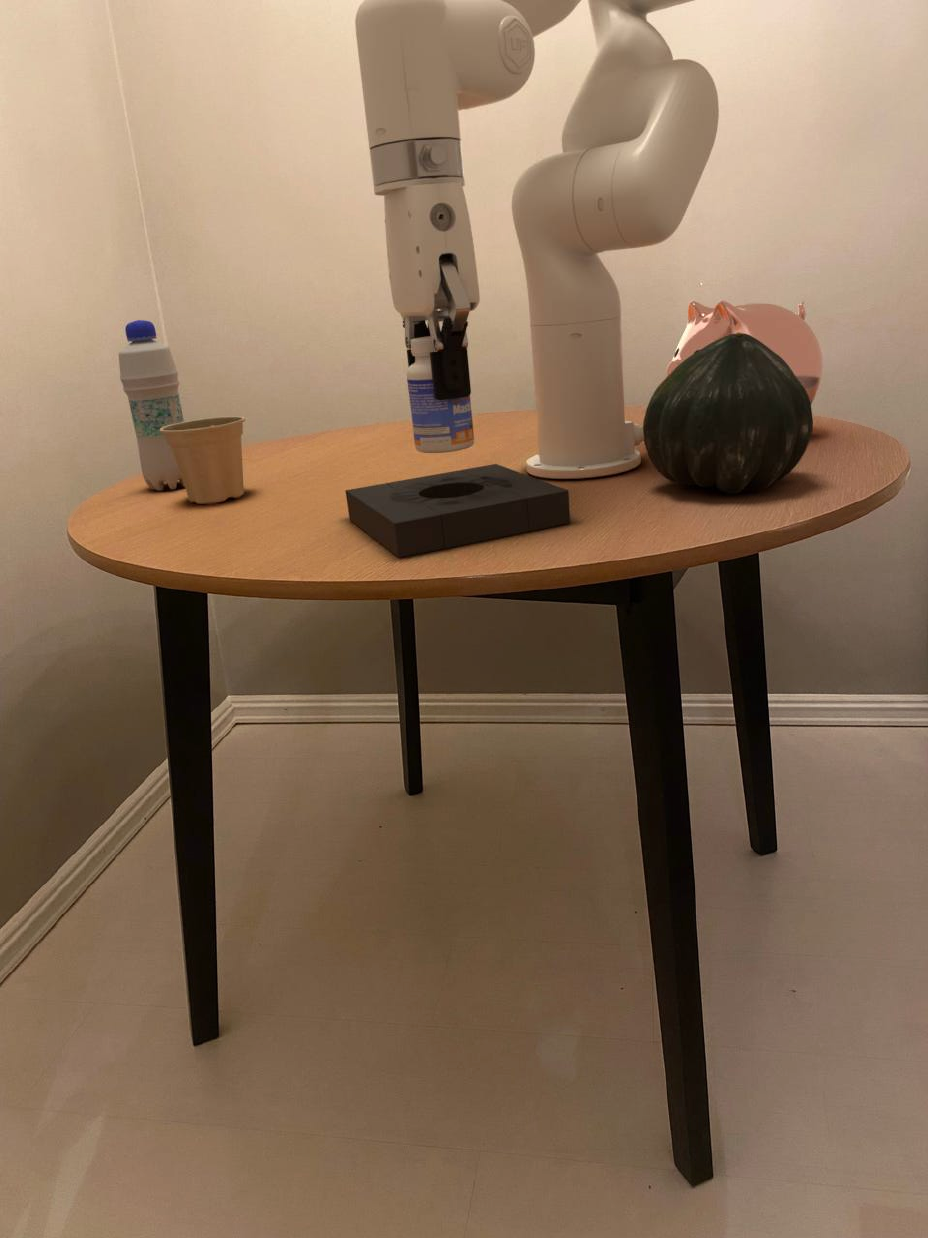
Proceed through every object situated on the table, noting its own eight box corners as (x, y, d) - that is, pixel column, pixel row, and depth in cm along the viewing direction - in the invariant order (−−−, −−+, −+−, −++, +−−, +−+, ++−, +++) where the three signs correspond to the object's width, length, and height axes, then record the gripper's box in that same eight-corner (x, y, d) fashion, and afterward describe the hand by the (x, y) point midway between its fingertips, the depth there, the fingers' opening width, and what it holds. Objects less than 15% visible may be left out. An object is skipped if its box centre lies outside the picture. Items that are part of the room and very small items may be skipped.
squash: (683, 411, 100) (652, 308, 88) (831, 415, 92) (820, 303, 80) (648, 523, 95) (610, 430, 83) (801, 537, 88) (784, 437, 76)
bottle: (210, 480, 119) (178, 315, 112) (174, 493, 113) (139, 320, 106) (169, 480, 122) (136, 319, 115) (133, 492, 116) (95, 324, 109)
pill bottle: (468, 452, 82) (457, 336, 78) (408, 455, 83) (395, 341, 80) (479, 440, 87) (470, 331, 83) (423, 444, 88) (411, 336, 84)
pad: (498, 492, 97) (496, 463, 96) (570, 523, 83) (568, 490, 82) (349, 520, 92) (345, 490, 91) (398, 558, 78) (394, 523, 77)
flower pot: (170, 498, 111) (155, 424, 108) (249, 484, 114) (236, 412, 111) (180, 513, 103) (164, 433, 100) (265, 497, 106) (252, 420, 103)
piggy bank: (641, 441, 115) (637, 305, 110) (768, 420, 120) (770, 288, 114) (708, 460, 102) (706, 305, 96) (849, 436, 106) (855, 287, 100)
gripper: (501, 152, 71) (519, 397, 77) (426, 181, 86) (446, 383, 92) (407, 158, 68) (433, 410, 74) (347, 186, 83) (373, 393, 90)
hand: (440, 393), depth 83 cm, fingers closed on pill bottle, 5 cm apart
